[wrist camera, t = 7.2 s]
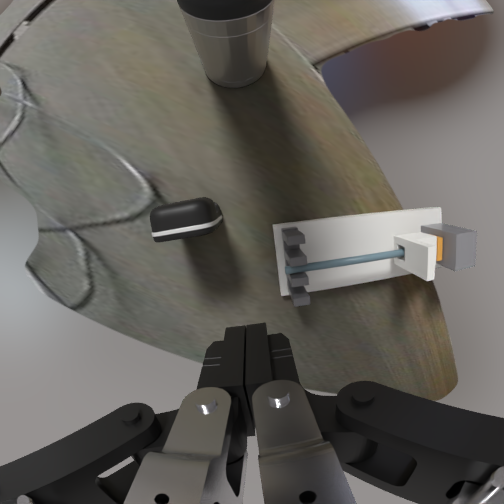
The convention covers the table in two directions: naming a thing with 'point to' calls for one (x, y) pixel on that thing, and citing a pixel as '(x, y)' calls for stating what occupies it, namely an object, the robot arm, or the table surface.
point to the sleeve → (417, 254)
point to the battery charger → (185, 219)
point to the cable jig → (360, 249)
